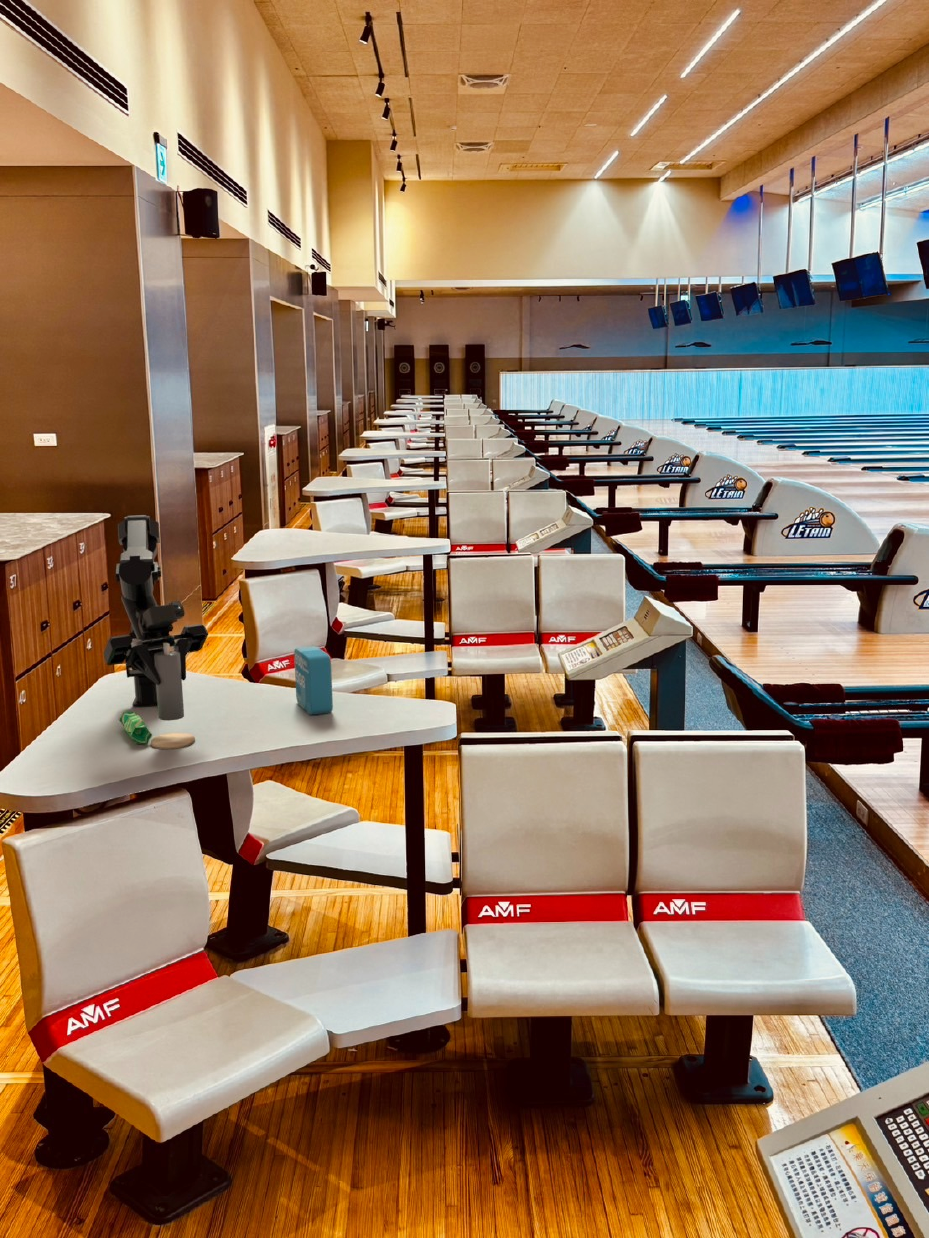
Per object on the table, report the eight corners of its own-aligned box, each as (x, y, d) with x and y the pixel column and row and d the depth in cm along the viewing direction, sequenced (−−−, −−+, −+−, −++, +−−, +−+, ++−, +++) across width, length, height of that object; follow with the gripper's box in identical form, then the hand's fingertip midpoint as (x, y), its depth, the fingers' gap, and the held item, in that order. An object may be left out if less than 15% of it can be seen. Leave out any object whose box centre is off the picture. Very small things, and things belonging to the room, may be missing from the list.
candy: (116, 725, 219) (126, 706, 220) (132, 732, 221) (142, 713, 221) (127, 742, 209) (138, 722, 209) (144, 749, 211) (154, 729, 211)
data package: (296, 702, 238) (293, 646, 235) (317, 699, 239) (314, 644, 237) (311, 716, 227) (309, 658, 224) (333, 714, 229) (331, 656, 226)
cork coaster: (152, 737, 214) (152, 734, 214) (196, 734, 216) (196, 731, 216) (148, 750, 207) (148, 747, 207) (193, 747, 208) (193, 744, 208)
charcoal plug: (154, 716, 211) (149, 643, 208) (177, 712, 213) (173, 639, 211) (164, 722, 207) (159, 647, 204) (188, 717, 210) (183, 643, 207)
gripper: (104, 593, 203) (132, 664, 197) (201, 582, 214) (230, 648, 208) (92, 629, 211) (118, 699, 204) (186, 616, 222) (214, 682, 216)
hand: (171, 681), depth 208 cm, fingers closed on charcoal plug, 5 cm apart
